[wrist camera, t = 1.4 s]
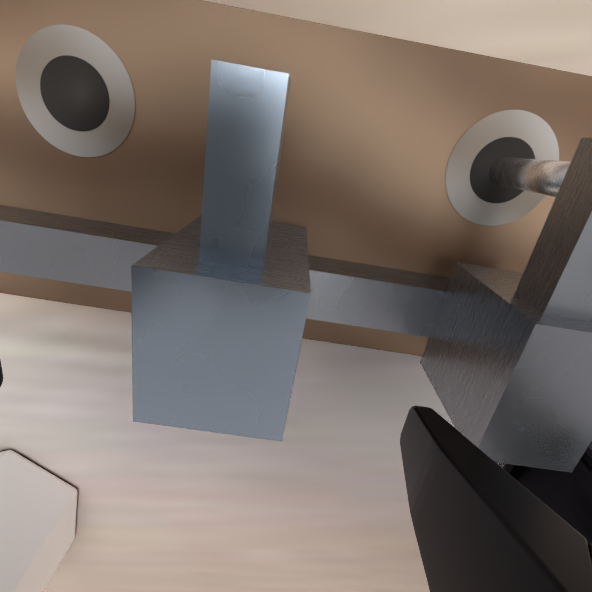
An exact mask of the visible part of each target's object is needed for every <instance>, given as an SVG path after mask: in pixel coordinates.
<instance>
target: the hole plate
mask: <svg viewBox="0 0 592 592" xmlns="http://www.w3.org/2000/svg"><path fill="white" fill-rule="evenodd" d="M211 59H212V60H218V61H223V62H228V63H234V64H239V65H245V66H250V67H255V68H261V69H266V70H271V71H277V72H282V73H287V74H289V77H290V82H291V86H290V93H289V100H288V107H287V115H286V122H285V129H284V136H283V144H282V151H281V158H280V166H279V173H278V180H277V187H276V195H275V202H274V209H273V216H272V221H273V222H279V223H285V224H291V225H297V226H303V227H306V228H307V243H308V255H314V256H320V257H326V258H332V259H338V260H344V261H351V262H357V263H363V264H369V265H375V266H381V267H388V268H394V269H400V270H406V271H412V272H419V273H425V274H431V275H437V276H443V277H449V278H450V275H451V272H452V269H453V266H454V263H455V262H461V263H467V264H473V265H479V266H485V267H491V268H497V269H503V270H510V271H516V272H522V273H523V272H524V270H525V268H526V265H527V263H528V261H529V258H530V256H531V254H532V251H533V249H534V247H535V244H536V242H537V240H538V237H539V235H540V233H541V230H542V228H543V226H544V223H545V221H546V219H547V216H548V214H549V212H550V209H551V207H552V205H553V202H554V200H555V198H556V197H553V196H548V195H544V194H539V193H534V192H530V191H525V190H520V189H516V188H511V187H506V186H502V185H497V184H495V183H493V182H492V181H491V179H490V176H489V172H490V168H491V166H492V165H493V163H494V162H495V161H496V160H498V159H500V158H503V157H511V158H525V159H539V160H553V161H567V162H571V160H572V158H573V156H574V153H575V151H576V149H577V146H578V144H579V142H580V139H581V138H592V76H587V75H582V74H576V73H571V72H566V71H561V70H556V69H551V68H546V67H541V66H535V65H530V64H525V63H520V62H515V61H510V60H505V59H500V58H494V57H489V56H484V55H479V54H474V53H469V52H464V51H458V50H453V49H448V48H443V47H438V46H433V45H428V44H423V43H417V42H412V41H407V40H402V39H397V38H392V37H387V36H381V35H376V34H371V33H366V32H361V31H356V30H351V29H346V28H340V27H335V26H330V25H325V24H320V23H315V22H310V21H305V20H299V19H294V18H289V17H284V16H279V15H274V14H269V13H263V12H258V11H253V10H248V9H243V8H238V7H233V6H228V5H222V4H217V3H212V2H207V1H202V0H0V205H5V206H11V207H17V208H23V209H29V210H36V211H42V212H48V213H54V214H60V215H67V216H73V217H79V218H85V219H91V220H97V221H104V222H110V223H116V224H122V225H128V226H134V227H141V228H147V229H153V230H159V231H165V232H172V233H177V232H178V231H179V230H181V229H182V228H184V227H185V226H186V225H188V224H189V223H191V222H192V221H193V220H195V219H196V218H197V217H199V216H200V215H202V201H203V185H204V170H205V154H206V138H207V122H208V106H209V90H210V74H211ZM0 293H5V294H12V295H18V296H25V297H32V298H38V299H45V300H52V301H58V302H65V303H72V304H78V305H85V306H92V307H98V308H105V309H112V310H118V311H125V312H132V292H130V291H123V290H117V289H110V288H104V287H97V286H91V285H84V284H77V283H71V282H64V281H58V280H51V279H45V278H38V277H32V276H25V275H19V274H12V273H6V272H0ZM302 338H305V339H311V340H318V341H325V342H331V343H338V344H345V345H351V346H358V347H365V348H371V349H378V350H385V351H391V352H398V353H405V354H411V355H418V356H422V355H423V352H424V350H425V347H426V344H427V341H428V338H429V337H424V336H418V335H411V334H405V333H398V332H391V331H385V330H378V329H372V328H365V327H359V326H352V325H346V324H339V323H333V322H326V321H320V320H313V319H306V320H305V326H304V331H303V336H302Z"/></svg>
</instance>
